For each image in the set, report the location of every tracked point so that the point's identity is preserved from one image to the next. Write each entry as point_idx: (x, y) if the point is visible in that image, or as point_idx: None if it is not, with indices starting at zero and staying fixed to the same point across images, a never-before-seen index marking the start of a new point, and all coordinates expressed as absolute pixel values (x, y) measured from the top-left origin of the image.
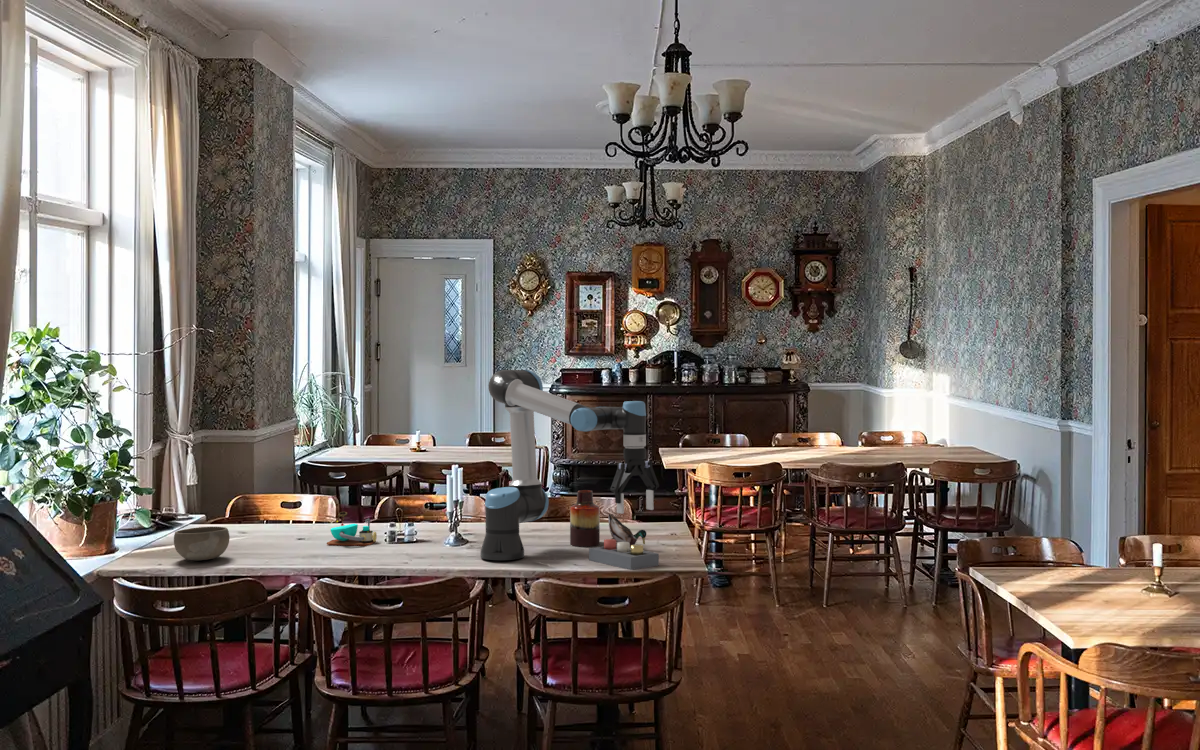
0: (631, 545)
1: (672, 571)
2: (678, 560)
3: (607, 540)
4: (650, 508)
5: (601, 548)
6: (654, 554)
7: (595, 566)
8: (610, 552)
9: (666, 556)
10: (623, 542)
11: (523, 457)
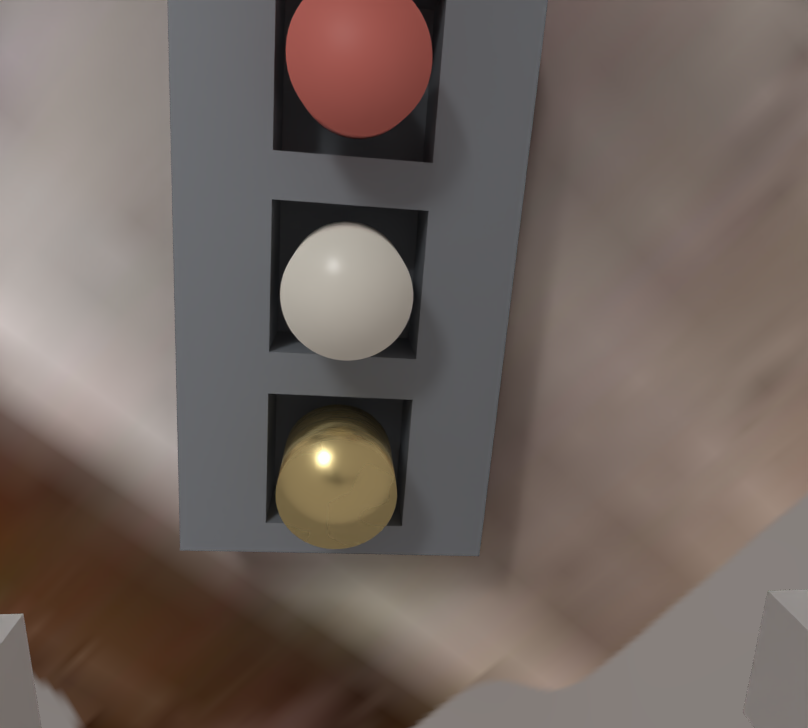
0: (297, 464)
1: (380, 684)
2: (707, 460)
3: (318, 51)
4: (761, 701)
5: (268, 22)
6: (434, 553)
7: (61, 228)
8: (190, 268)
9: (786, 293)
10: (362, 283)
11: None
